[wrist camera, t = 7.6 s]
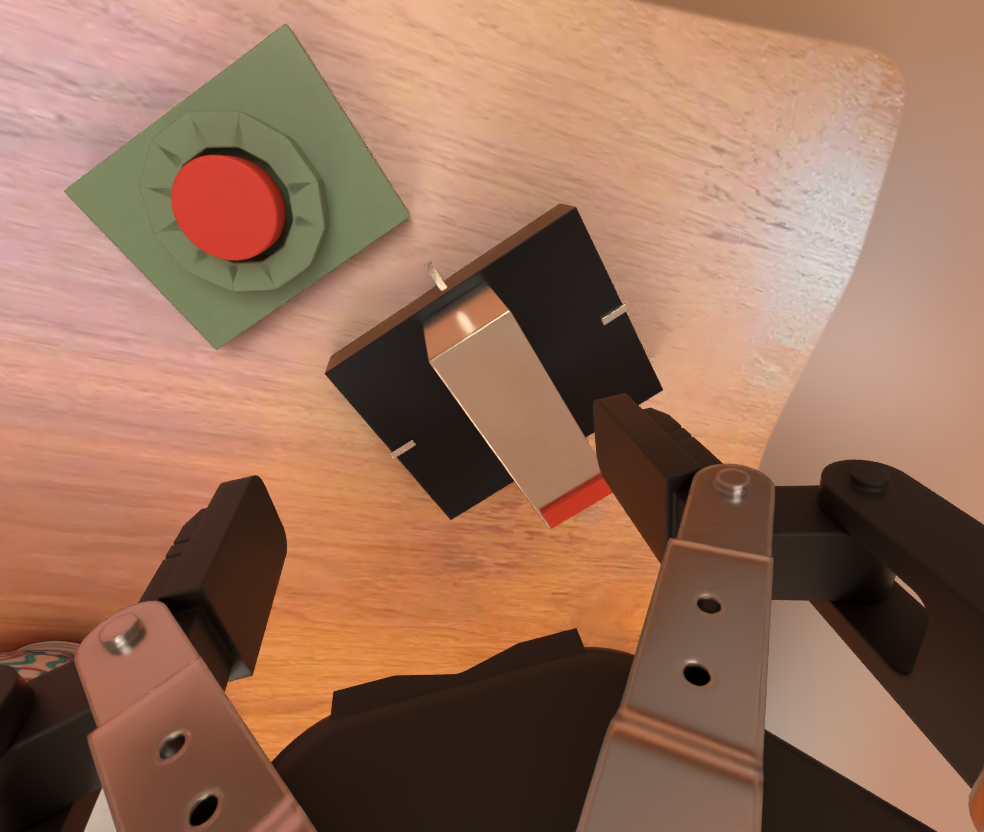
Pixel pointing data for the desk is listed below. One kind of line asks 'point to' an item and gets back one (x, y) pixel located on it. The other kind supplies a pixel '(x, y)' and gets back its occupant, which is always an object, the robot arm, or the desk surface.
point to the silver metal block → (514, 404)
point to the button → (228, 206)
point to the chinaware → (38, 662)
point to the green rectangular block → (276, 149)
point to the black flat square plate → (547, 326)
